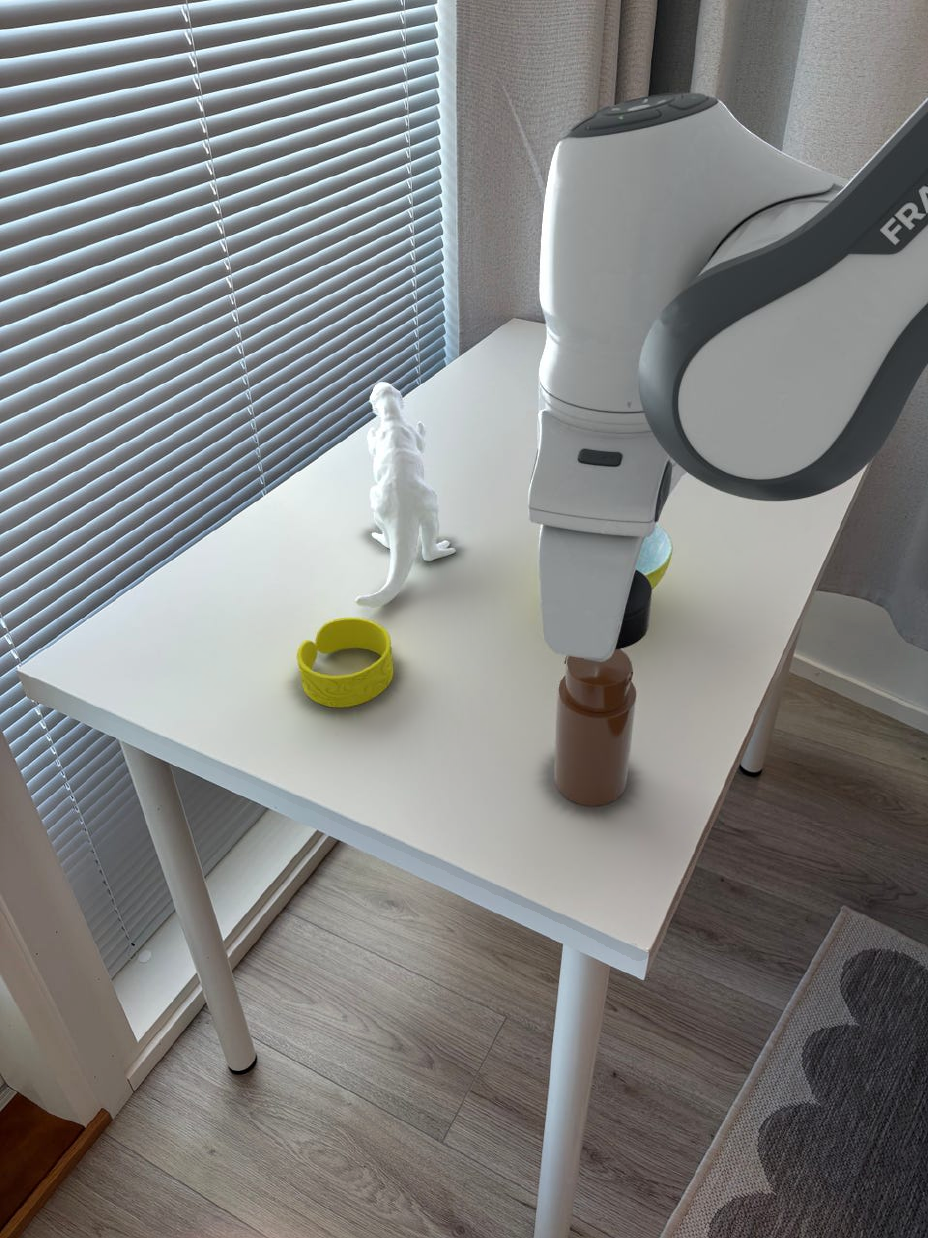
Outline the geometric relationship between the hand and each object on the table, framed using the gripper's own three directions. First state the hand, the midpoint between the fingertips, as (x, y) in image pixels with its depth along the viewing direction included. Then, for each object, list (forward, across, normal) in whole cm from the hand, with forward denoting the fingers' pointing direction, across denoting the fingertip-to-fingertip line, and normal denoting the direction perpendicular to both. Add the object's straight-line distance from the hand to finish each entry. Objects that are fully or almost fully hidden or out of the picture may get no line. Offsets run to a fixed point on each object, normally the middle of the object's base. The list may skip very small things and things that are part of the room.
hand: (604, 620), depth 61 cm
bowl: (+15, -22, -3) cm, 27 cm away
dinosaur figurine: (+15, -23, -23) cm, 36 cm away
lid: (-2, 0, 0) cm, 2 cm away
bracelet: (+15, -6, -22) cm, 28 cm away
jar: (+15, 0, 0) cm, 15 cm away
